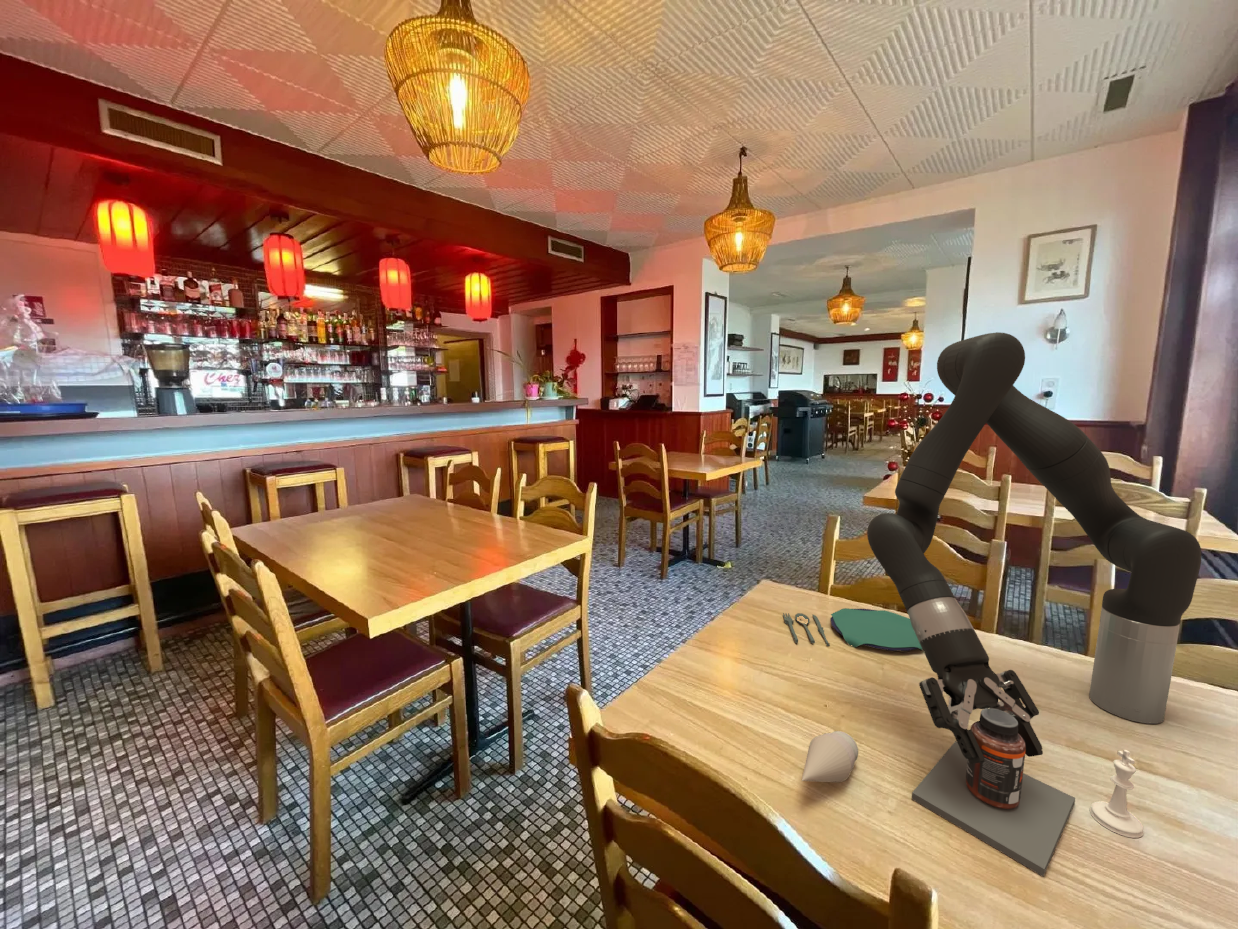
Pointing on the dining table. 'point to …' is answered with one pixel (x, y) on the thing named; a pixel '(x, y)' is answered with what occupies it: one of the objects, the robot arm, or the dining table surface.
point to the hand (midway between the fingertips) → (1007, 759)
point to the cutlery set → (867, 629)
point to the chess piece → (1119, 801)
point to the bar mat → (998, 812)
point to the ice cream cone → (830, 757)
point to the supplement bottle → (997, 760)
